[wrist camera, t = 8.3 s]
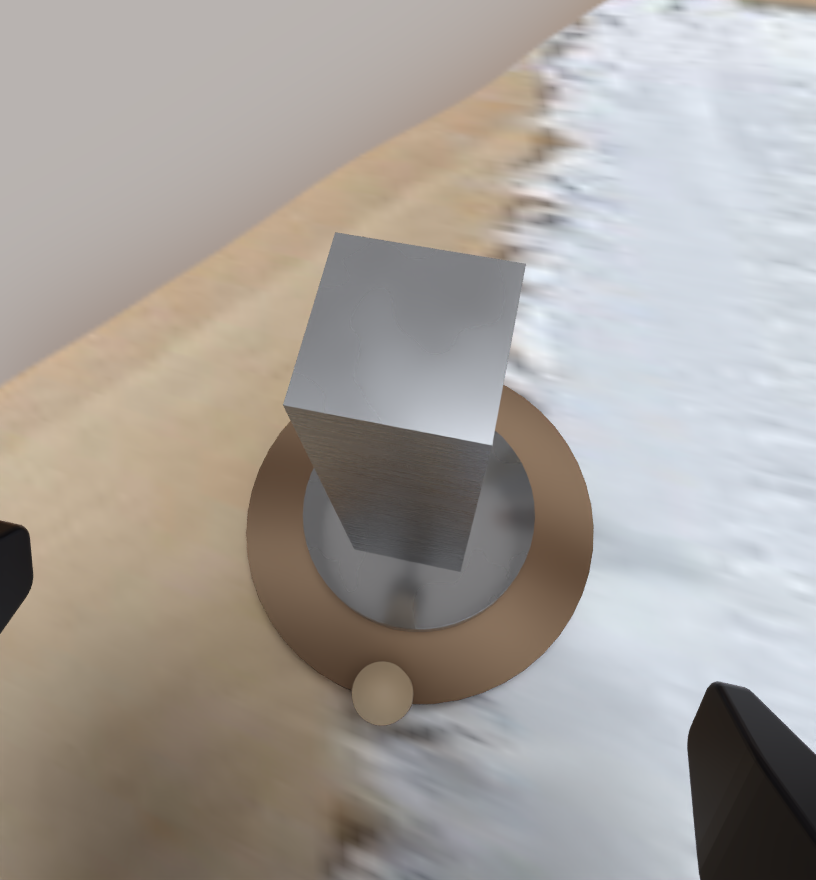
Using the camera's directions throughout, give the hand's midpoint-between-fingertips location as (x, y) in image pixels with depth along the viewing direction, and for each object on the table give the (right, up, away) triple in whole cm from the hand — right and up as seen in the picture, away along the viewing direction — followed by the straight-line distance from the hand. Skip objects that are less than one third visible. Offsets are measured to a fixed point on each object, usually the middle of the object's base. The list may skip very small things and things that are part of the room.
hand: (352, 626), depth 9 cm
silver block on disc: (+1, 0, +13) cm, 13 cm away
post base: (+1, 0, +14) cm, 14 cm away
